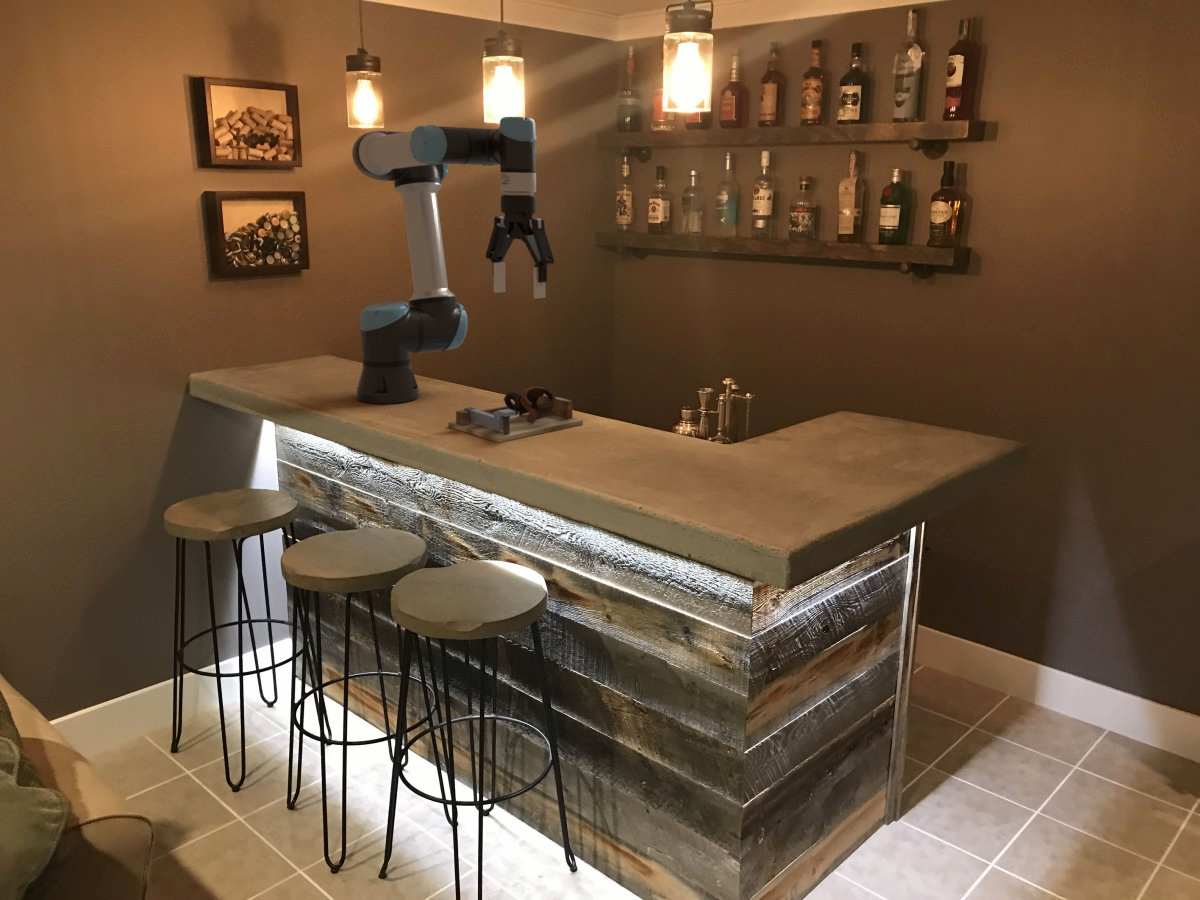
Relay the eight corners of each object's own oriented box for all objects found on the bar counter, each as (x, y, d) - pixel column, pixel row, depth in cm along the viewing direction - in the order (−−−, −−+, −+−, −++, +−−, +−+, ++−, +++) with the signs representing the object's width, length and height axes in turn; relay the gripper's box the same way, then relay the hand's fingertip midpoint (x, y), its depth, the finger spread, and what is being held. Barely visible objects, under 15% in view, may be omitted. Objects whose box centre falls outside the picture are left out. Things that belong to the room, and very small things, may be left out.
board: (448, 426, 215) (447, 404, 213) (531, 410, 231) (531, 389, 229) (498, 442, 202) (498, 419, 201) (582, 424, 218) (583, 402, 217)
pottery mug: (554, 415, 224) (562, 388, 218) (547, 442, 217) (555, 415, 211) (504, 401, 223) (510, 374, 218) (495, 428, 216) (501, 400, 211)
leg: (515, 432, 205) (515, 411, 204) (505, 434, 203) (504, 413, 202) (473, 418, 216) (472, 398, 215) (462, 419, 215) (462, 399, 213)
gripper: (468, 192, 211) (470, 291, 217) (543, 195, 194) (543, 301, 200) (495, 193, 216) (497, 288, 222) (571, 195, 199) (570, 299, 205)
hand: (519, 295), depth 211 cm, fingers open, 13 cm apart
